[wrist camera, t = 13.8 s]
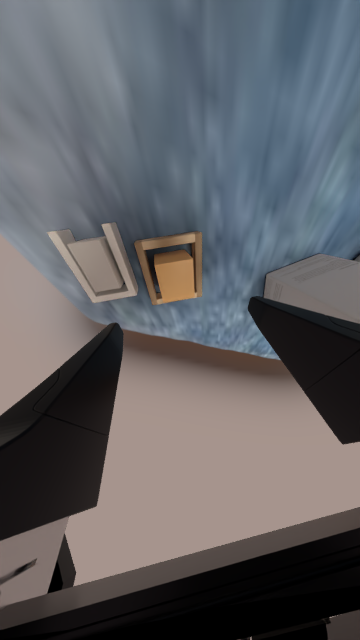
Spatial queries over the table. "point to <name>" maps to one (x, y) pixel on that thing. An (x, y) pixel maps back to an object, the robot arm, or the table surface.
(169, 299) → the orange block
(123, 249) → the clip
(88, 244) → the block
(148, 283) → the holder
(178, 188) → the table surface
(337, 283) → the supplement box
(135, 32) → the table surface
